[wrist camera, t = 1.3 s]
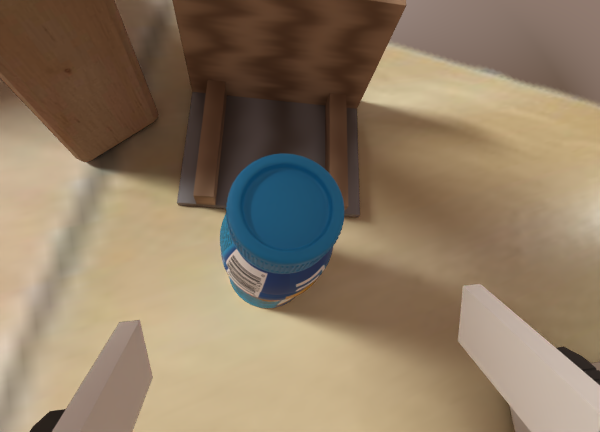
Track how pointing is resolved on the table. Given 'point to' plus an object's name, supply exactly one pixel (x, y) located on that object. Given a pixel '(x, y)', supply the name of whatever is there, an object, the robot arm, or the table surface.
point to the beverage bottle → (279, 228)
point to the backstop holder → (277, 86)
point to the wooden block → (75, 71)
